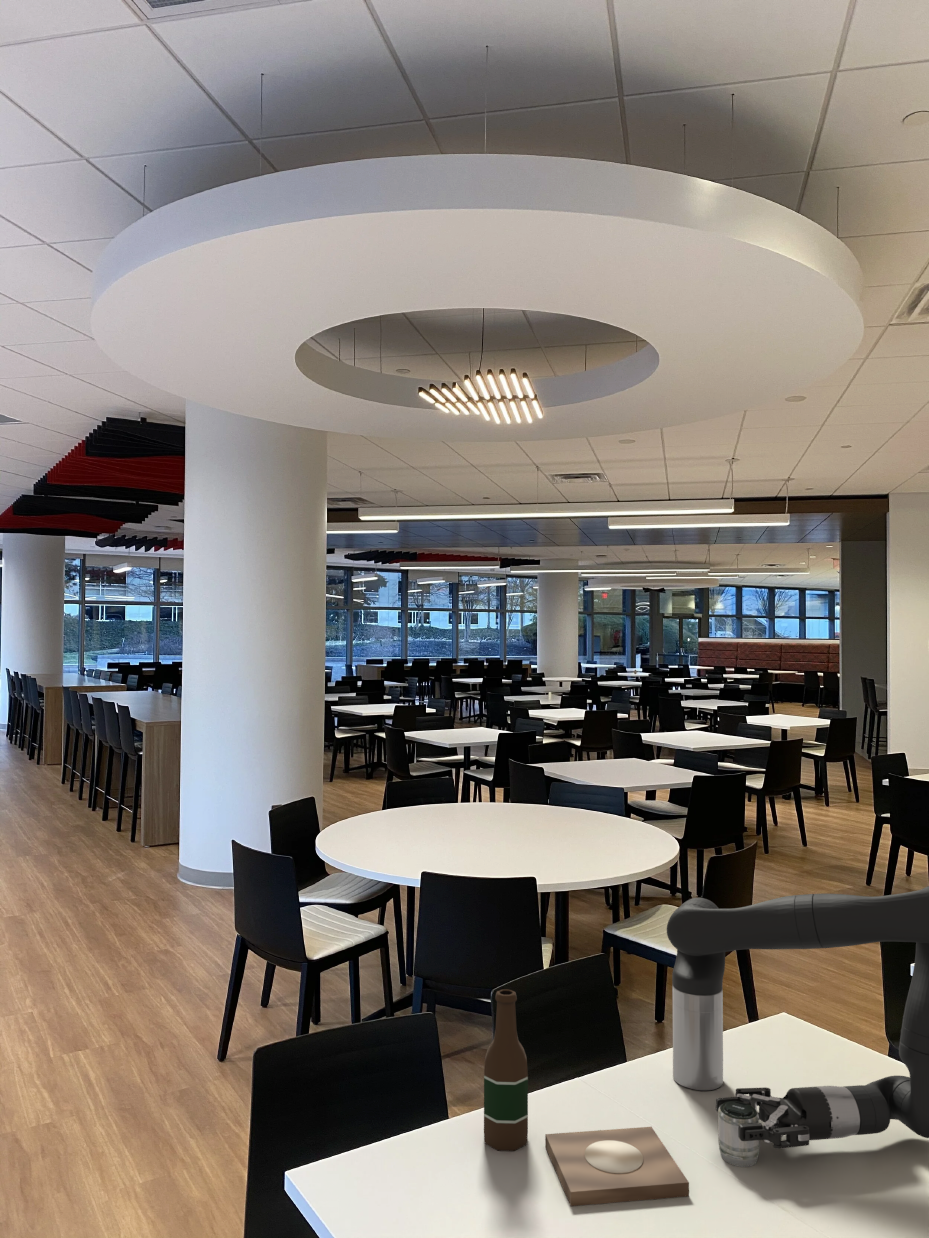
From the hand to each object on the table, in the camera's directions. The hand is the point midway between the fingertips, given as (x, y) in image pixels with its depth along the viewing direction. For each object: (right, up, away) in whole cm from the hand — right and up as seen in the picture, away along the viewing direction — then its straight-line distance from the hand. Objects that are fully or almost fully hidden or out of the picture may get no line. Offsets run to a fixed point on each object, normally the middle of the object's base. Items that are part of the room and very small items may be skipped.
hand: (727, 1119), depth 144 cm
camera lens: (+2, -6, 0) cm, 7 cm away
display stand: (-19, -6, -4) cm, 20 cm away
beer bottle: (-35, -6, +5) cm, 36 cm away
